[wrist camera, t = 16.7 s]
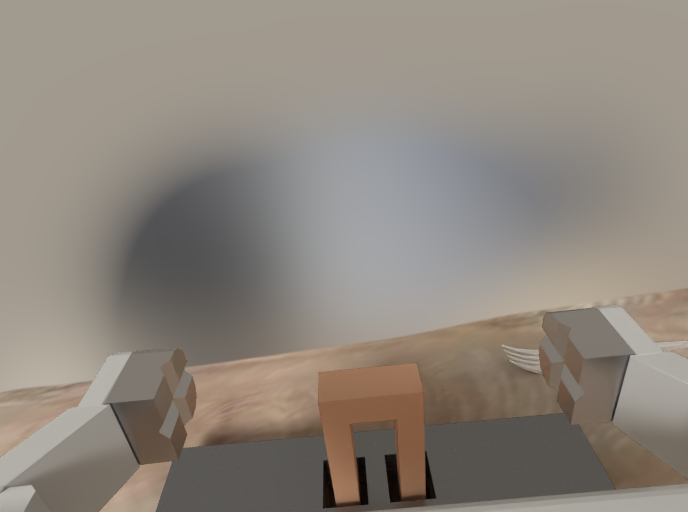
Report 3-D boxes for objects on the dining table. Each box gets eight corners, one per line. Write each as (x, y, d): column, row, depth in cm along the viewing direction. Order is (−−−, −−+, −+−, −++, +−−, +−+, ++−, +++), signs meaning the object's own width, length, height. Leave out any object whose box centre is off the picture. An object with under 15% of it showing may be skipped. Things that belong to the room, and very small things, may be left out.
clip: (339, 493, 35) (318, 372, 29) (420, 485, 35) (416, 362, 29) (339, 525, 33) (317, 402, 27) (426, 517, 32) (423, 392, 27)
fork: (725, 359, 43) (731, 343, 42) (509, 379, 43) (511, 364, 42) (699, 336, 46) (705, 321, 45) (497, 356, 46) (498, 341, 45)
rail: (186, 473, 37) (176, 448, 36) (566, 439, 37) (571, 412, 35) (154, 584, 30) (140, 559, 29) (622, 544, 30) (631, 516, 28)
